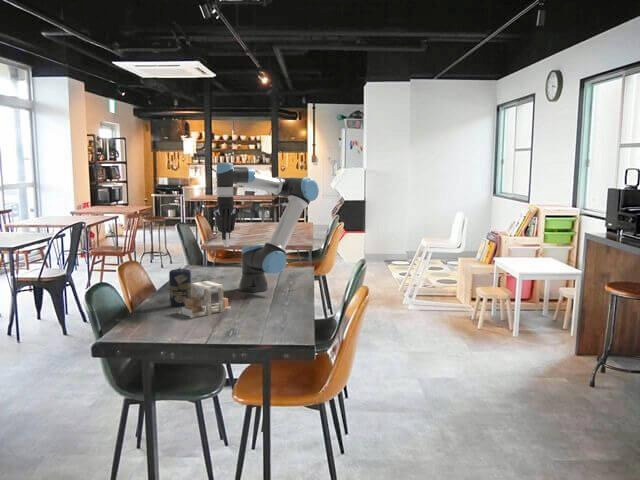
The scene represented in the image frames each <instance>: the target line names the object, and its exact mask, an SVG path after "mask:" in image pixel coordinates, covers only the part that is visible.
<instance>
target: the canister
mask: <svg viewBox="0 0 640 480" xmlns="http://www.w3.org/2000/svg"><path fill="white" fill-rule="evenodd" d="M168 273H169V274H168V277H169V280H168V281H169V282H168V283H169V305H170V306H171V307H176V308H177V307H178V308H179V307H181V308H182V307H185V298H190V297H192V292H191V286H192V285H191V283H192V281H191V280H192V275H191V274H192V273H191V270H190V269H187V268H181V267H179V268H175V269H170V270H169V272H168Z"/></svg>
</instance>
